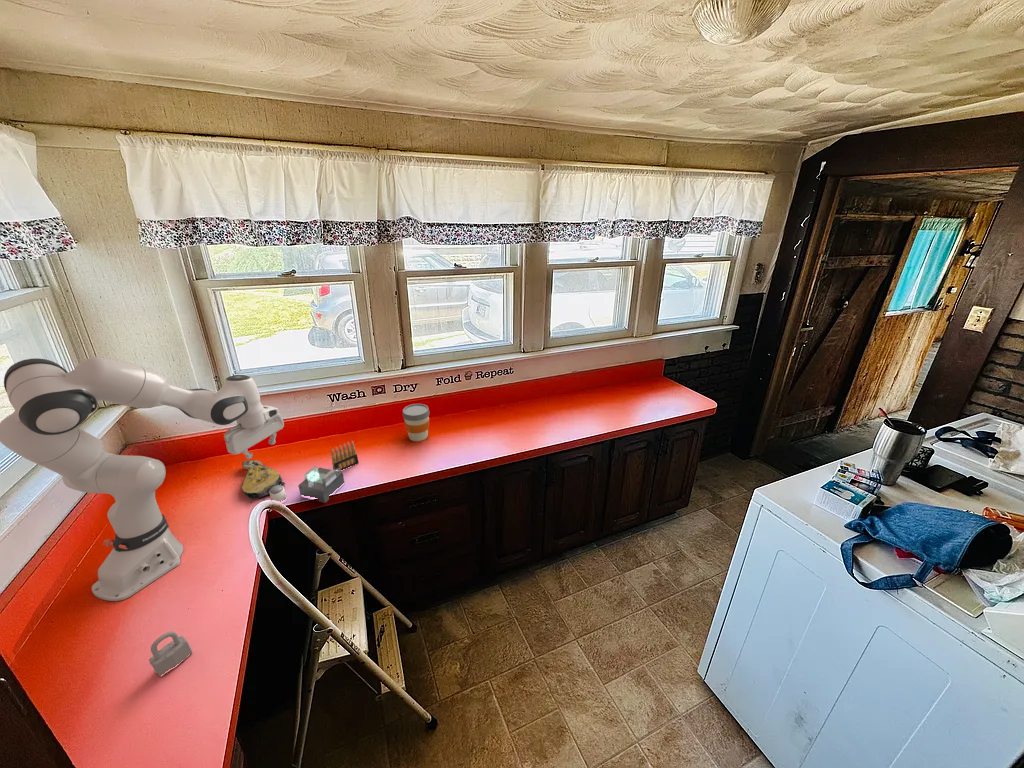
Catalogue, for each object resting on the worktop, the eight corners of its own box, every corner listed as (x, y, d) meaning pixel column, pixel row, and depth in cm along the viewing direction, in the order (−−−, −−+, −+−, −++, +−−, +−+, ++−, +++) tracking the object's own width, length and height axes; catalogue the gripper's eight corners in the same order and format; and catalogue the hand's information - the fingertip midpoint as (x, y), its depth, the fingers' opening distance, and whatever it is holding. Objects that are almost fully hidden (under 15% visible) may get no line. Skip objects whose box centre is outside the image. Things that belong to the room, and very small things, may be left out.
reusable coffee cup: (405, 444, 196) (402, 417, 190) (405, 431, 207) (402, 405, 201) (432, 441, 198) (429, 414, 192) (430, 428, 210) (428, 402, 203)
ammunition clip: (335, 474, 175) (330, 450, 170) (333, 472, 176) (328, 448, 171) (359, 463, 182) (354, 440, 177) (356, 461, 183) (352, 438, 178)
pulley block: (265, 447, 182) (284, 479, 161) (271, 457, 185) (289, 490, 164) (230, 463, 174) (244, 499, 154) (236, 473, 177) (251, 510, 157)
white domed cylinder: (280, 506, 156) (276, 494, 154) (269, 504, 157) (265, 491, 155) (290, 498, 161) (286, 485, 158) (279, 495, 162) (276, 483, 159)
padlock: (161, 679, 100) (147, 653, 96) (154, 670, 102) (139, 644, 98) (194, 654, 106) (181, 628, 101) (186, 646, 108) (174, 620, 103)
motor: (325, 502, 158) (320, 484, 154) (301, 497, 161) (296, 478, 157) (350, 478, 172) (347, 460, 168) (328, 473, 175) (324, 456, 171)
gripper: (229, 434, 134) (241, 469, 140) (282, 406, 151) (290, 438, 157) (216, 430, 136) (228, 464, 142) (269, 403, 153) (278, 434, 159)
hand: (261, 450), depth 150 cm, fingers open, 8 cm apart
